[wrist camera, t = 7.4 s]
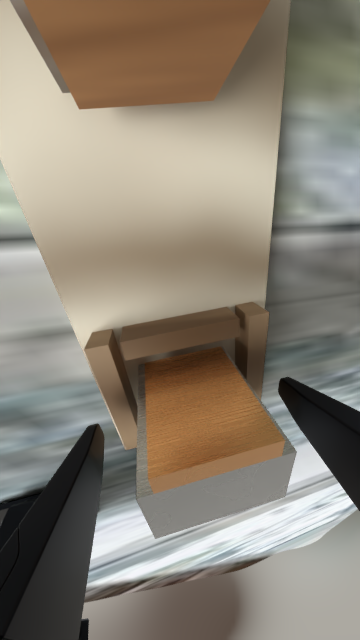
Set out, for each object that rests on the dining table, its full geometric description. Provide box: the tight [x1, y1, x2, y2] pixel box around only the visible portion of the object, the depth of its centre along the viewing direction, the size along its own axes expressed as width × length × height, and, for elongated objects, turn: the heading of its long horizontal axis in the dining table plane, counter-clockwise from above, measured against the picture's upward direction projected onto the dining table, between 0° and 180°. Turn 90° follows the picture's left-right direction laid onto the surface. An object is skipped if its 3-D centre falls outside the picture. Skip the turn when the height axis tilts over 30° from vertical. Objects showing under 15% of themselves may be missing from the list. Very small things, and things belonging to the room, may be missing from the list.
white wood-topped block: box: [136, 346, 297, 539], centre depth 9 cm, size 4×5×6 cm
